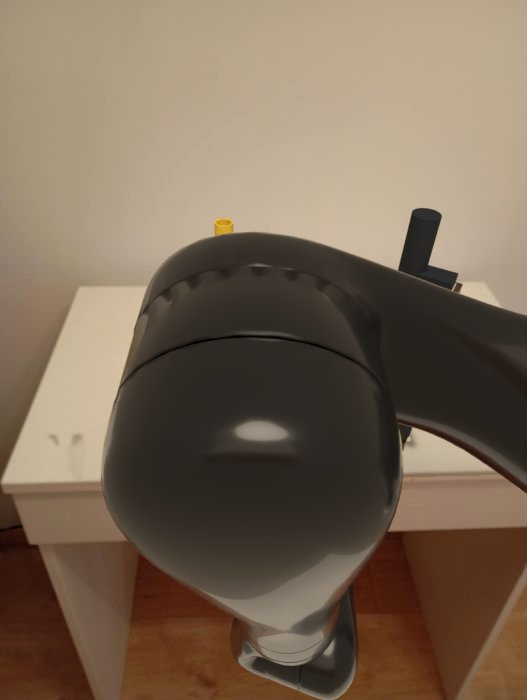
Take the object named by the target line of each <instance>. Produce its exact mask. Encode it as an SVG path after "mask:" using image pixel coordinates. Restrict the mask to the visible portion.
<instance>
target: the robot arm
mask: <svg viewBox="0 0 527 700" xmlns="http://www.w3.org/2000/svg"><path fill="white" fill-rule="evenodd" d="M132 334H133V335H132V338H131V341H130V343H129V348H128V352H127V355H126V359H125V362H124V367H123V368H122V369H123V370H122V374H121V377H120V380H119V385H118V388H117V392H116V394H115V398H114V400H113V403H112V406H111V410H110V411H111V412H110V415H109V419H108V422H107V426H106V432H105V436H104V441H103V446H102V447H103V448H102V453H101V462H100V463H101V464H100V482H101V483H100V485H101V491H102V495H103V499H104V502H105V506H106V509H107V511H108V513H109V515H110V517H111V518H112V520H113V523H114V524H115V526H116V527H117V528H118V530H119V531H120V533H121V534H122V535H123V536H124V538H125V539H126V541H127V542H129V544H130V545H131V546H132V547H133V548H134V549H135V550H136V551H137V552H138V553H139V554H140V555H141V556H142V557H143V558H144V559H146V560H147V561H148V562H149V563H150V564H151V565H152V566H153V567H154V568H156V569H158V570H159V571H160V572H161V573H163V574H164V575H166V576H168V577H169V578H170V579H172V580H173V581H175V582H176V583H178V584H179V585H181V586H183V587H184V588H185V589H187V590H189V591H191V592H192V593H194V594H195V595H197V596H198V597H200V598H201V599H203V600H205V601H206V602H208V603H209V604H210V605H212V606H214V607H215V608H216V609H218V610H220V611H222V612H224V613H226V614H228V615H230V616H231V617H232V618H233V619H232V623H231V627H230V635H229V637H230V638H229V639H230V640H229V642H230V644H229V645H230V651H231V655H232V658H233V660H234V661H235V663H236V664H237V665H238V666H239V667H241V668H242V669H244V670H245V671H246V672H249V673H251V674H253V675H256V676H258V677H260V678H264V679H267V680H269V681H272V682H273V683H277V684H279V685H282V686H285V687H287V688H290V689H292V690H295V691H299V692H300V693H303V694H305V695H308V696H311V697H313V698H316V699H319V700H336V699H338V698H340V697H341V696H343V694H345V693H346V692H347V691H348V689H349V688H350V687H351V685H352V684H353V681H354V679H355V677H356V674H357V670H358V666H359V659H360V641H359V638H360V637H359V627H358V619H357V612H356V602H355V591H354V581H356V579H357V577H359V575H360V574H361V573H362V572H363V570H364V569H365V568H366V566H367V565H368V564H369V563H370V562H371V560H372V559H373V557H374V556H375V555H376V553H377V551H379V548H380V547H381V545H382V543H383V542H384V541H385V538H386V536H387V534H388V532H389V530H390V528H391V525H392V523H393V520H394V518H395V516H396V512H397V509H398V506H399V503H400V499H401V494H402V489H403V481H404V455H403V454H404V453H403V452H404V449H405V447H406V444H407V442H406V441H407V438H408V433H407V427H406V425H407V426H410V427H412V429H416V430H419V431H422V432H426V433H428V434H430V435H432V436H435V437H437V438H439V439H441V440H444V441H446V442H448V443H449V444H451V445H453V446H455V447H457V448H459V449H461V450H463V451H464V452H466V453H467V454H469V455H470V456H471V457H474V458H475V459H476V460H478V461H480V462H481V463H483V464H484V465H485V466H487V467H489V468H490V469H491V470H492V471H494V472H496V473H497V474H498V475H499V476H501V477H502V478H504V479H505V480H507V481H508V482H510V483H511V484H513V485H514V486H515V487H517V488H518V489H520V490H521V491H522V492H524V493H525V494H526V495H527V314H523V313H521V312H516V311H513V310H510V309H506V308H503V307H499V306H497V305H493V304H491V303H487V302H485V301H482V300H479V299H476V298H473V297H472V296H471V297H470V296H468V295H466V294H462V293H461V292H460V293H457V292H454V291H452V290H449V289H446V288H443V287H441V286H438V285H435V284H433V283H430V282H427V281H425V280H422V279H419V278H416V277H414V276H411V275H408V274H406V273H403V272H400V271H398V269H395V268H392V267H389V266H387V265H384V264H381V263H379V262H376V261H373V260H371V259H368V258H365V257H363V256H360V255H357V254H354V253H351V252H348V251H345V250H342V249H341V248H336V247H335V246H331V245H327V244H325V243H322V242H319V241H315V240H311V239H307V238H303V237H300V236H294V235H288V234H282V233H274V232H268V231H240V232H239V231H238V232H233V233H225V234H221V235H217V236H215V235H213V236H208V237H204V238H201V239H198V240H196V241H194V242H192V243H190V244H187V245H185V246H183V247H180V248H179V249H178V250H177V251H175V252H174V253H172V254H171V255H170V256H168V257H167V259H165V260H164V261H163V262H162V263H161V264H160V265H159V266H158V268H157V269H156V271H154V274H153V275H152V277H151V279H150V281H149V283H148V285H147V287H146V289H145V292H144V295H143V299H142V302H141V304H140V309H139V311H138V315H137V318H136V321H135V325H134V327H133V333H132Z"/></svg>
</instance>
